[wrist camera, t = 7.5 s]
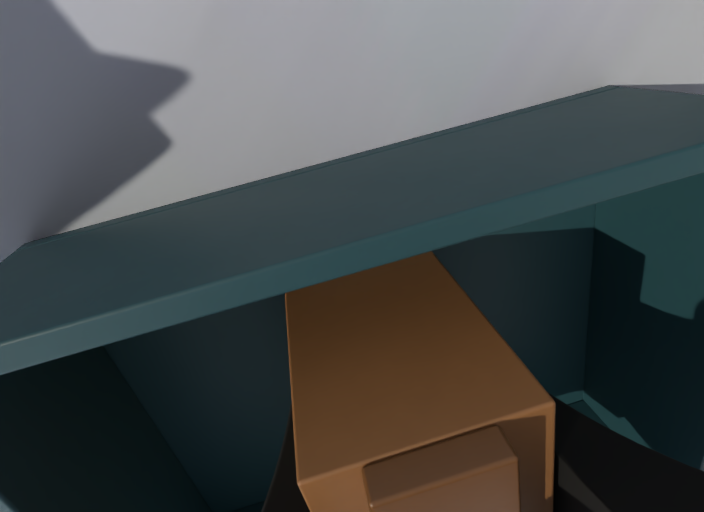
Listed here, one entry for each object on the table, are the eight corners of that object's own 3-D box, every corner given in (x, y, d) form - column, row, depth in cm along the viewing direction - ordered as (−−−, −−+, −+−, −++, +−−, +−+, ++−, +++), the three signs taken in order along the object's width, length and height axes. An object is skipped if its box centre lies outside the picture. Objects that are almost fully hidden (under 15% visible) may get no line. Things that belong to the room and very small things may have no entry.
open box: (586, 396, 18) (700, 520, 13) (208, 516, 17) (185, 696, 12) (609, 84, 12) (835, 106, 7) (23, 243, 11) (-165, 389, 6)
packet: (432, 249, 12) (588, 437, 6) (455, 410, 15) (571, 633, 10) (283, 292, 12) (297, 530, 6) (338, 447, 15) (384, 699, 9)
